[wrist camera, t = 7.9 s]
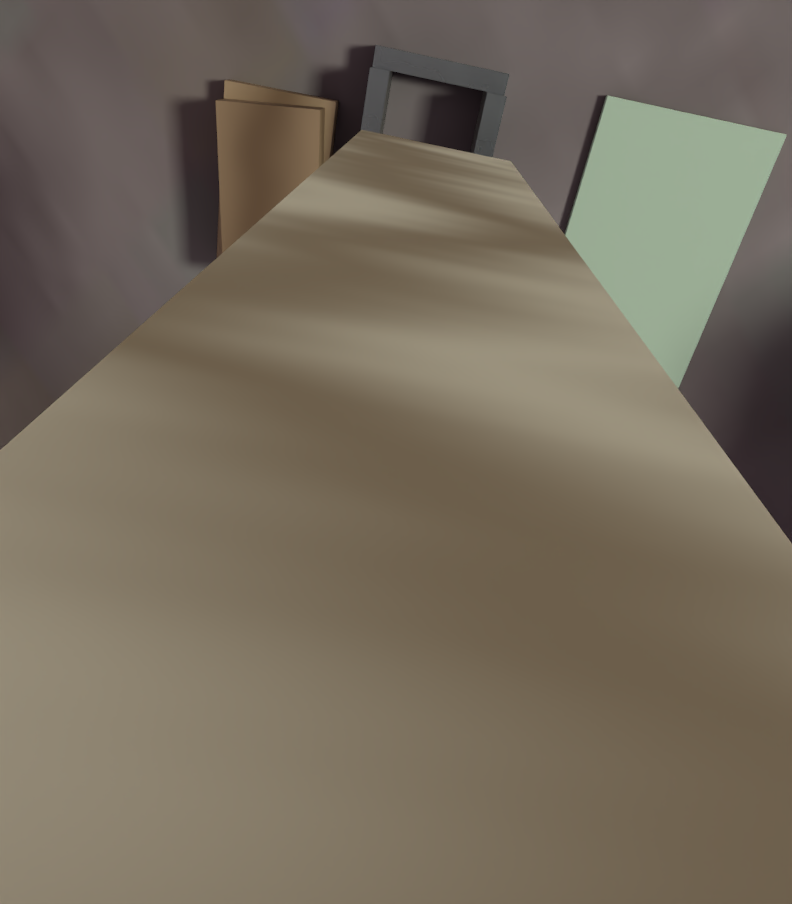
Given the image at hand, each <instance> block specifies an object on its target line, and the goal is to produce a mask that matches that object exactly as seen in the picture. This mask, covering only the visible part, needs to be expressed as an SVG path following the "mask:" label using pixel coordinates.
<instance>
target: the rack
mask: <svg viewBox="0 0 792 904" xmlns="http://www.w3.org/2000/svg"><path fill="white" fill-rule="evenodd" d="M393 71H394V72H398V73H403V74H408V75H412V76H417V77H421V78H426V79H431V80H435V81H440V82H444V83H449V84H454V85H458V86H463V87H467V88H472V89H477V90H481V91H484V92H483V96H482V100H481V105H480V109H479V114H478V118H477V123H476V127H475V132H474V136H473V141H472V145H471V150H470V153H474V154H479V155H483V156H488V157H492V156H493V152H494V148H495V144H496V139H497V135H498V131H499V127H500V123H501V118H502V114H503V110H504V106H505V102H506V98H507V97H506V96H504V94H505V90H506V86H507V81H508V77H509V74H507V73H502V72H498V71H493V70H488V69H484V68H479V67H475V66H470V65H465V64H461V63H456V62H452V61H447V60H443V59H438V58H433V57H429V56H424V55H420V54H415V53H411V52H406V51H401V50H397V49H392V48H388V47H383V46H378V45H376V46H375V53H374V60H373V66H372V67H370V71H369V77H368V84H367V91H366V97H365V104H364V111H363V117H362V124H361V130H366V131H370V132H375V133H380V134H383V128H384V122H385V116H386V110H387V104H388V98H389V92H390V86H391V79H392V73H393Z"/></svg>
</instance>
